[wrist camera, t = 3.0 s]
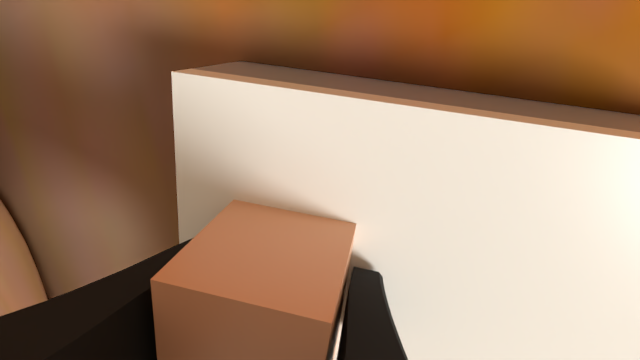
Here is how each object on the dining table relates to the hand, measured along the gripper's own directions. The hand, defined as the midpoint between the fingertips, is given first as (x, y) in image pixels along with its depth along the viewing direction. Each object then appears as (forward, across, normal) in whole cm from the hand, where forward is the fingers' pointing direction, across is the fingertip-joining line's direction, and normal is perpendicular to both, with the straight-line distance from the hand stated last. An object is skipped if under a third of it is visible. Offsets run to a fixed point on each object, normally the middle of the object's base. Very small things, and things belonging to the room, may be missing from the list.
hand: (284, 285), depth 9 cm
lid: (+1, -4, 0) cm, 4 cm away
